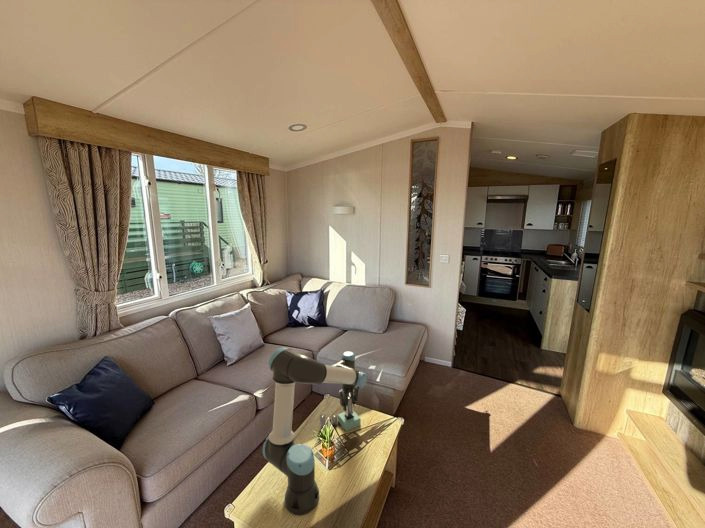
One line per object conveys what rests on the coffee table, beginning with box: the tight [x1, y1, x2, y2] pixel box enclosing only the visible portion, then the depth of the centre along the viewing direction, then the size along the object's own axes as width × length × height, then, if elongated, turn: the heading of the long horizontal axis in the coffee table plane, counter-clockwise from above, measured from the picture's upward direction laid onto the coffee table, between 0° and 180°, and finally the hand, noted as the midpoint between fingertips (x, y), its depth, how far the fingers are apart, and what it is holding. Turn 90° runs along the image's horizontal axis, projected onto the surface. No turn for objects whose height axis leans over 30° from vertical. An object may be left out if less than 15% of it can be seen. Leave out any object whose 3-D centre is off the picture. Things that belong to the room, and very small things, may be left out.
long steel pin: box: [346, 395, 352, 420], centre depth 181 cm, size 3×3×15 cm
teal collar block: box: [337, 411, 362, 432], centre depth 182 cm, size 10×10×4 cm
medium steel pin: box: [319, 413, 326, 431], centre depth 176 cm, size 3×3×9 cm
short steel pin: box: [330, 414, 338, 427], centre depth 181 cm, size 3×3×5 cm
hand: (349, 413), depth 181 cm, fingers closed on long steel pin, 3 cm apart
